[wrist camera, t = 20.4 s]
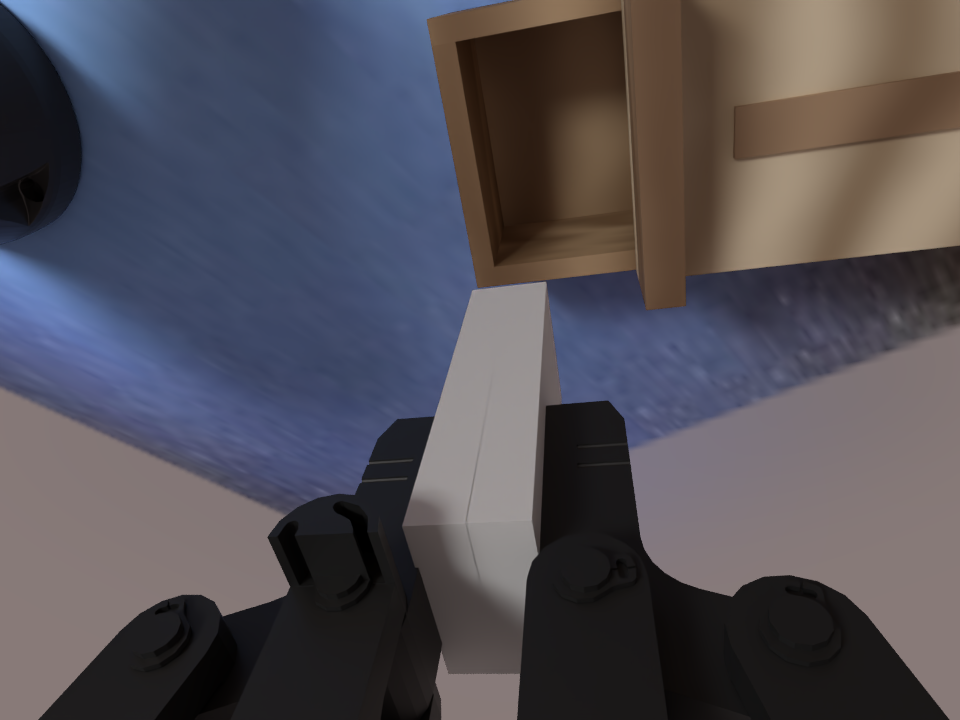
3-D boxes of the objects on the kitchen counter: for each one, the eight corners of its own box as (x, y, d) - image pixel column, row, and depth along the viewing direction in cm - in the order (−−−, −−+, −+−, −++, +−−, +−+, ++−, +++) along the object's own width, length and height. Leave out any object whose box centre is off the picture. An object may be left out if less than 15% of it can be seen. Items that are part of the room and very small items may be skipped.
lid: (636, 271, 30) (646, 310, 27) (620, -19, 24) (629, -19, 21) (1073, 221, 27) (1151, 257, 23) (1174, -129, 21) (1299, -151, 18)
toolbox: (491, 239, 38) (477, 287, 32) (452, 12, 32) (426, 19, 26) (818, 197, 34) (871, 242, 29) (841, -65, 29) (913, -78, 23)
